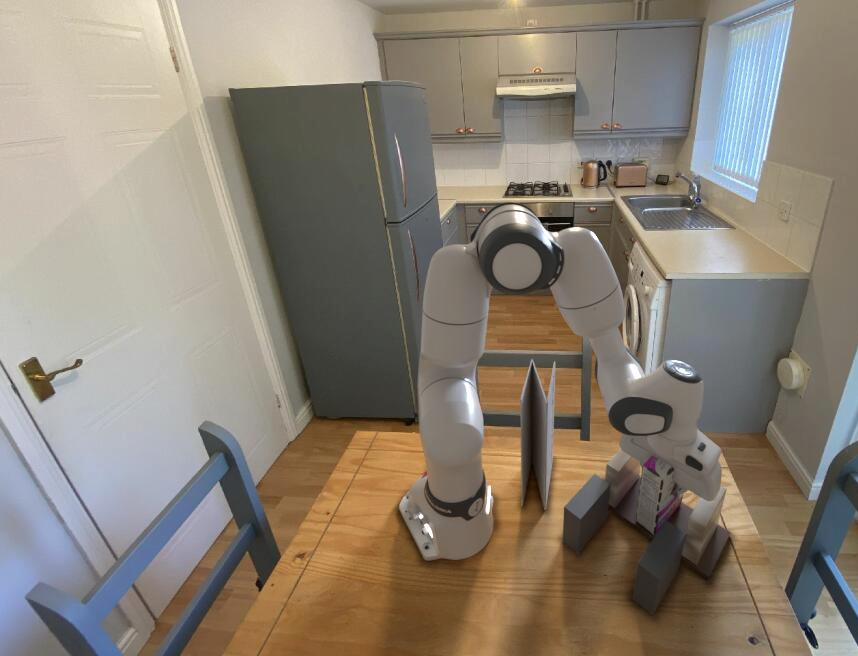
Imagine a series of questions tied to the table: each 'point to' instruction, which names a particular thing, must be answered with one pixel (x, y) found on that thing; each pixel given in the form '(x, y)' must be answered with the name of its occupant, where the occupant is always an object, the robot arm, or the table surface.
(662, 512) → the candy bar box
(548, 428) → the brochure
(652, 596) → the dark gray block pair
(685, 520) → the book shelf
